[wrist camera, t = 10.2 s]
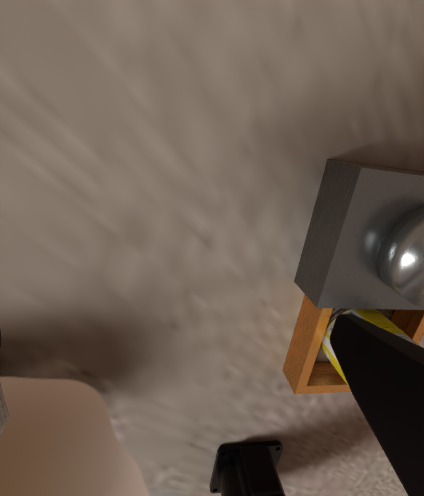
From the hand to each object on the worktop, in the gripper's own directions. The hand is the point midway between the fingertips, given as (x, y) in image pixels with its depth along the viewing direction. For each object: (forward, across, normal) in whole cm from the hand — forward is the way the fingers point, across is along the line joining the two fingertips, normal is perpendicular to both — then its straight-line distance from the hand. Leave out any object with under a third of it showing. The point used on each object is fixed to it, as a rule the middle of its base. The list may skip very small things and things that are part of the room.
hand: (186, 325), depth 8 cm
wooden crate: (+12, -16, +5) cm, 21 cm away
